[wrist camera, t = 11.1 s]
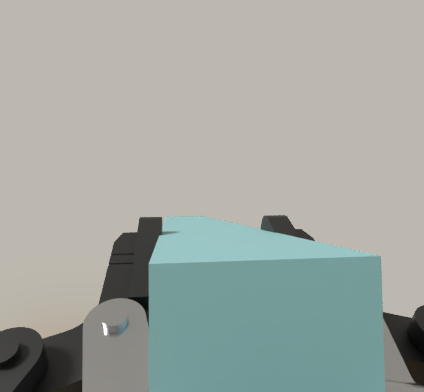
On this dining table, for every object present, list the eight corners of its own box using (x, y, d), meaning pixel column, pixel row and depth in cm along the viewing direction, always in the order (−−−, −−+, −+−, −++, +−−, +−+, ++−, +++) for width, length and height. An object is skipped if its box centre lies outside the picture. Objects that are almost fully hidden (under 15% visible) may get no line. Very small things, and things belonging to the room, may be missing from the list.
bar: (388, 492, 5) (380, 256, 5) (149, 525, 4) (148, 263, 4) (203, 252, 30) (202, 216, 31) (166, 253, 30) (166, 216, 30)
